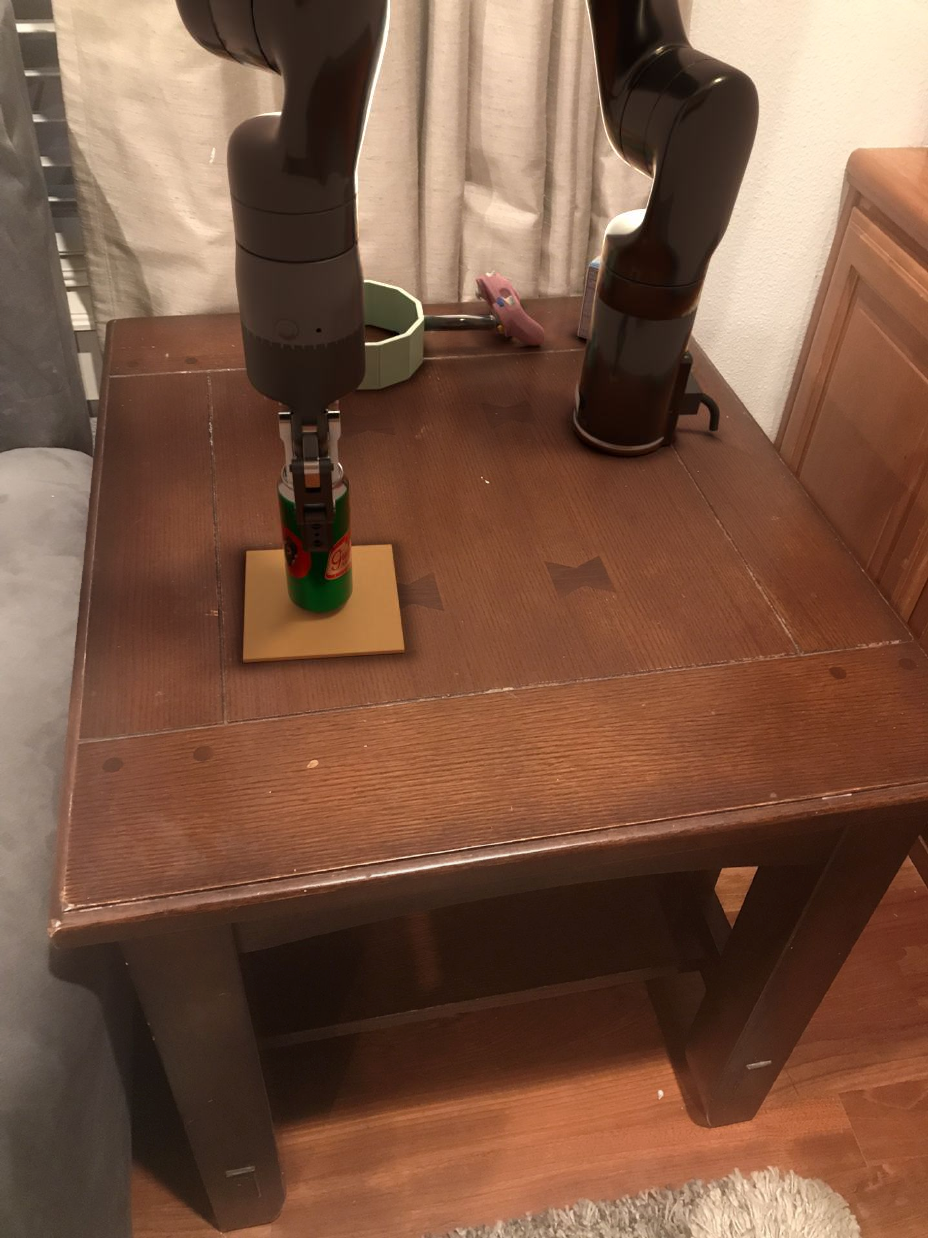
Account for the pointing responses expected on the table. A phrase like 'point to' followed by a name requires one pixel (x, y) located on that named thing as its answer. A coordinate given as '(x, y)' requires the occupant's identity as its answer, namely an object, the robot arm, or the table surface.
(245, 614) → the cork mat
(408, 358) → the pan
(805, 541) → the table surface
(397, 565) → the table surface
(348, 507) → the soda can
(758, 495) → the table surface
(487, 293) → the video game controller
